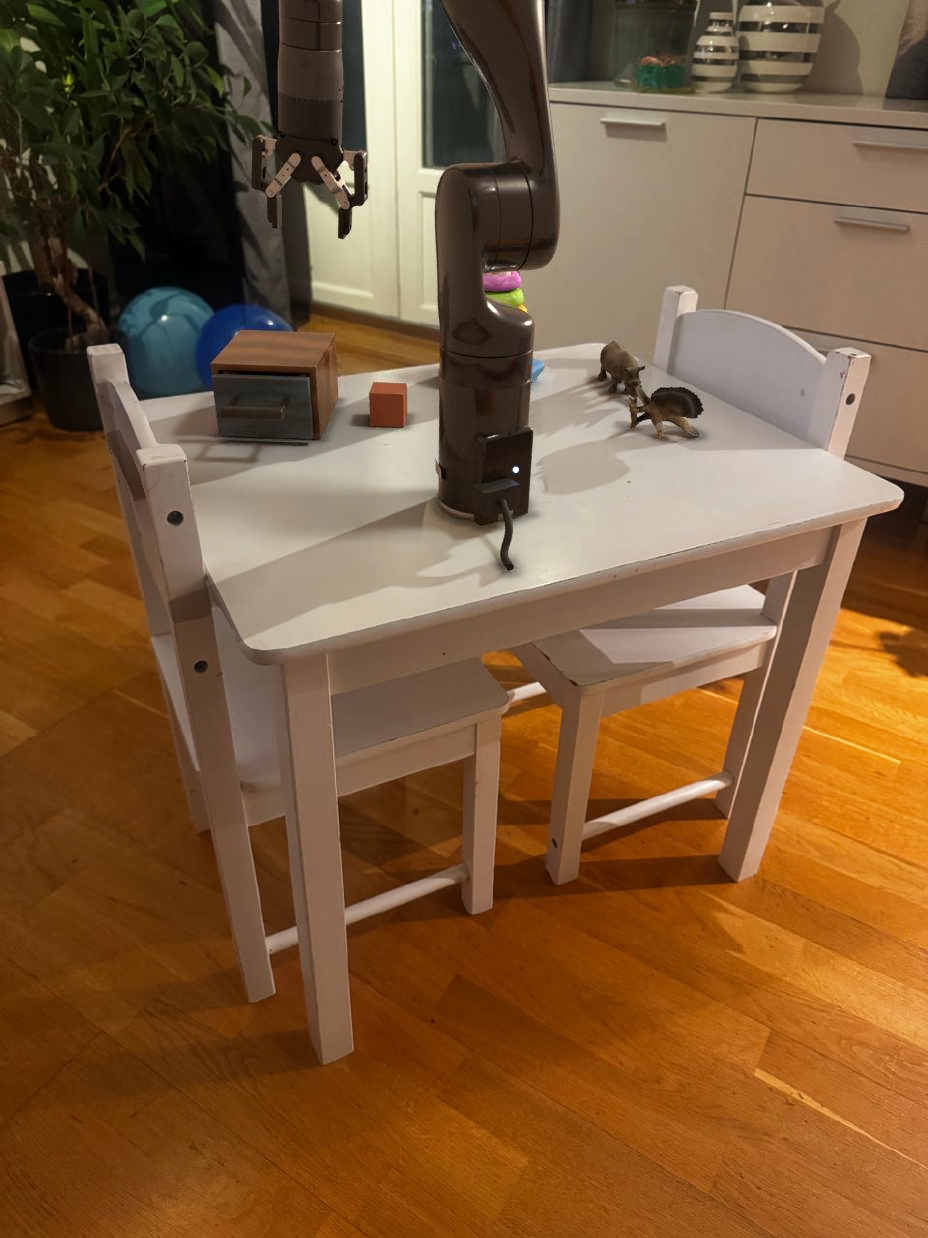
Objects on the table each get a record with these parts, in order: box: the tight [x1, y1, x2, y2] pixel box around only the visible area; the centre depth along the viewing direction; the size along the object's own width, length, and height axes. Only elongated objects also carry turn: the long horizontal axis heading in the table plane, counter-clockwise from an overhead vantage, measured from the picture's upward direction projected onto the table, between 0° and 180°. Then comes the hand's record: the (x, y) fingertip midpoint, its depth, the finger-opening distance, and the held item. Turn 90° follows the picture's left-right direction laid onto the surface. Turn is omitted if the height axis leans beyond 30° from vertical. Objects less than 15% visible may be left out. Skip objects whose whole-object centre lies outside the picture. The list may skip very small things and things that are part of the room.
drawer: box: [211, 370, 314, 440], centre depth 113 cm, size 19×11×7 cm, turn 178°
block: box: [368, 381, 408, 428], centre depth 118 cm, size 4×4×4 cm
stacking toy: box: [437, 271, 546, 383], centre depth 128 cm, size 14×13×23 cm
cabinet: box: [210, 329, 340, 440], centre depth 117 cm, size 15×13×9 cm
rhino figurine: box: [597, 340, 646, 399], centre depth 130 cm, size 4×14×6 cm, turn 10°
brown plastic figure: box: [628, 386, 705, 440], centre depth 117 cm, size 8×7×9 cm
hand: (309, 231), depth 118 cm, fingers open, 8 cm apart
